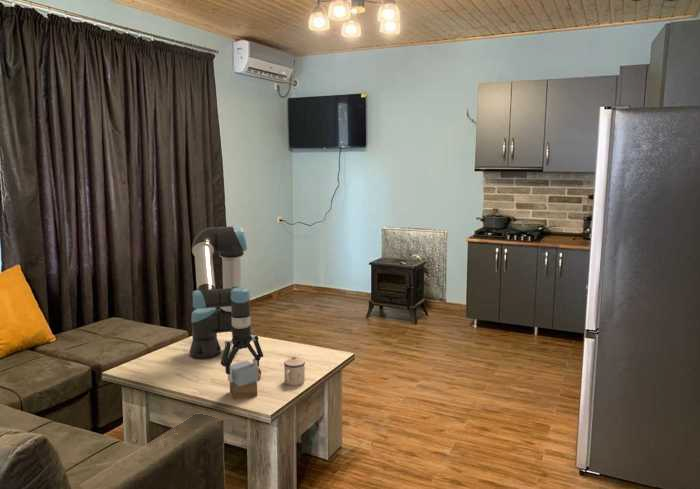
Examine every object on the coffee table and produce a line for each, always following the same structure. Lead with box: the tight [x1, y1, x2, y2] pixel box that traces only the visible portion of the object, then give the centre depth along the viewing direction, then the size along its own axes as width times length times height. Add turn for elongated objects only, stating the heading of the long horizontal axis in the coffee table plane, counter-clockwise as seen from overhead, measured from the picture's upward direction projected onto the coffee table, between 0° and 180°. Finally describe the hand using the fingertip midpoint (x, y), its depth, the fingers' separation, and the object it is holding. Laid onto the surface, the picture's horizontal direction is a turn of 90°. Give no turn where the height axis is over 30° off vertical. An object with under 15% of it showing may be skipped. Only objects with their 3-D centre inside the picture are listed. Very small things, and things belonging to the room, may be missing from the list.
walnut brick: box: [229, 381, 258, 401], centre depth 222 cm, size 9×9×6 cm
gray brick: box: [230, 360, 260, 387], centre depth 222 cm, size 9×9×6 cm
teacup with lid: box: [283, 355, 306, 386], centre depth 233 cm, size 12×9×12 cm
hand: (242, 377), depth 222 cm, fingers open, 11 cm apart
